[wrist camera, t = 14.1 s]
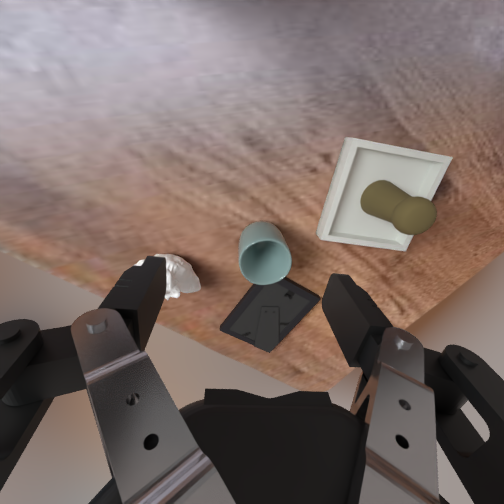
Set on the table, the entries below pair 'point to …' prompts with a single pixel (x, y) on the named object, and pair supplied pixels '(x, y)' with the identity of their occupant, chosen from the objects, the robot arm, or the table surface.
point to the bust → (178, 276)
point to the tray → (363, 174)
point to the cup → (263, 253)
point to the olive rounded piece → (398, 207)
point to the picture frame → (269, 313)
